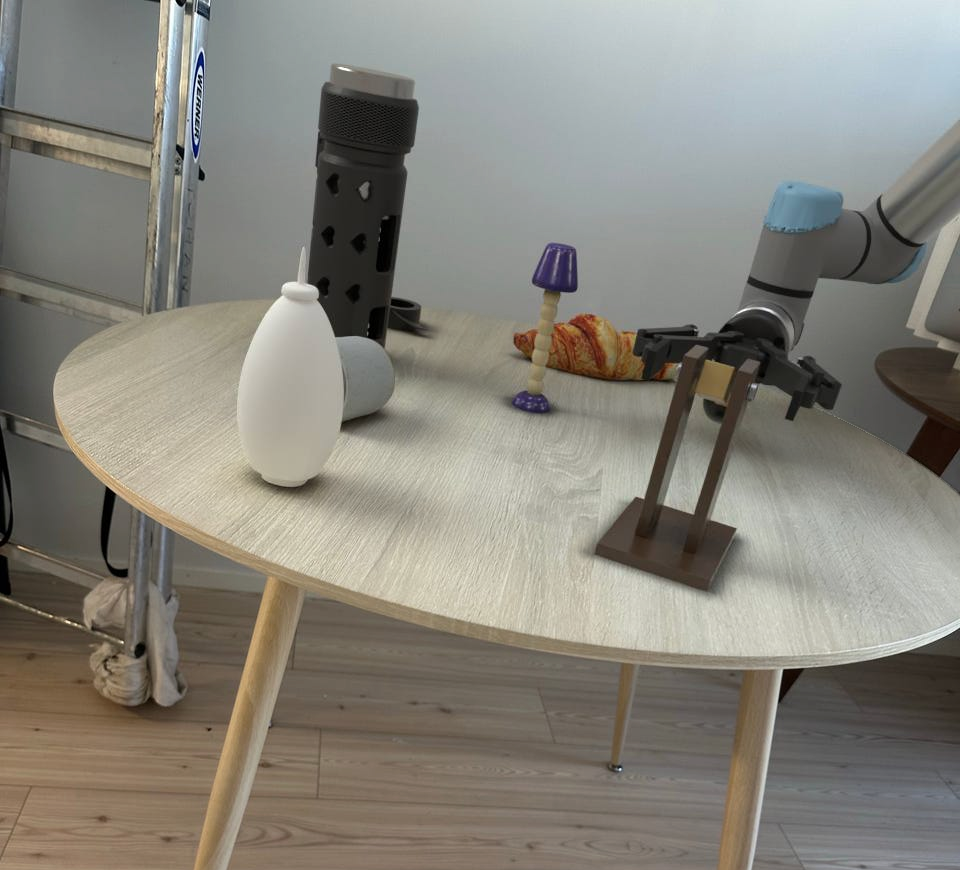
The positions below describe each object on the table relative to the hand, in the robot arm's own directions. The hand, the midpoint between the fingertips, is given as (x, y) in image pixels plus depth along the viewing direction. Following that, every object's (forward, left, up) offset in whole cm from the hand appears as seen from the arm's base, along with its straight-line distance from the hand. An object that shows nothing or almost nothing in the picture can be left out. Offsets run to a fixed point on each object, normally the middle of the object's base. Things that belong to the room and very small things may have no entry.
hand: (719, 385), depth 93 cm
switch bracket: (-2, +17, -10) cm, 20 cm away
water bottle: (+41, -6, -10) cm, 43 cm away
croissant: (+18, -28, -10) cm, 35 cm away
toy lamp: (+19, -8, -10) cm, 23 cm away
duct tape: (+43, -24, -10) cm, 50 cm away
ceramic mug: (+33, +11, -10) cm, 37 cm away
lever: (-2, +13, +1) cm, 13 cm away
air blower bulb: (+27, +28, -10) cm, 41 cm away
